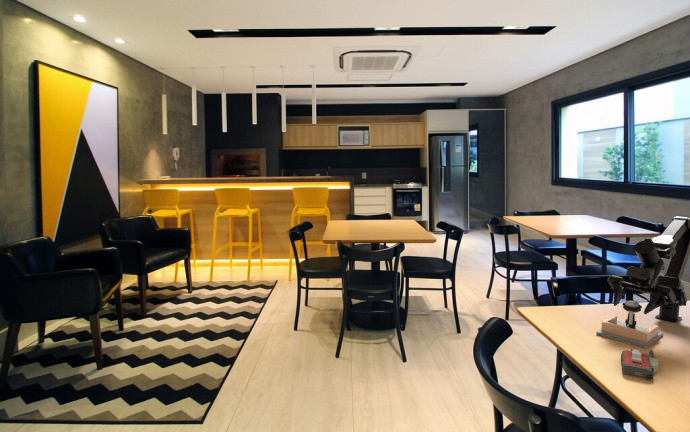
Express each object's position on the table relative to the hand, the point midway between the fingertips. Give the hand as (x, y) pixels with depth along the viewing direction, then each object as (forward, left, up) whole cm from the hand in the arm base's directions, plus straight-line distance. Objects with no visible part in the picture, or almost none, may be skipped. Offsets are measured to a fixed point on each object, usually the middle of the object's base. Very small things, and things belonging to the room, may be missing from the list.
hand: (629, 309), depth 139 cm
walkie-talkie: (+20, +10, -10) cm, 25 cm away
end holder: (-1, 0, -9) cm, 9 cm away
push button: (-2, 0, -8) cm, 8 cm away
